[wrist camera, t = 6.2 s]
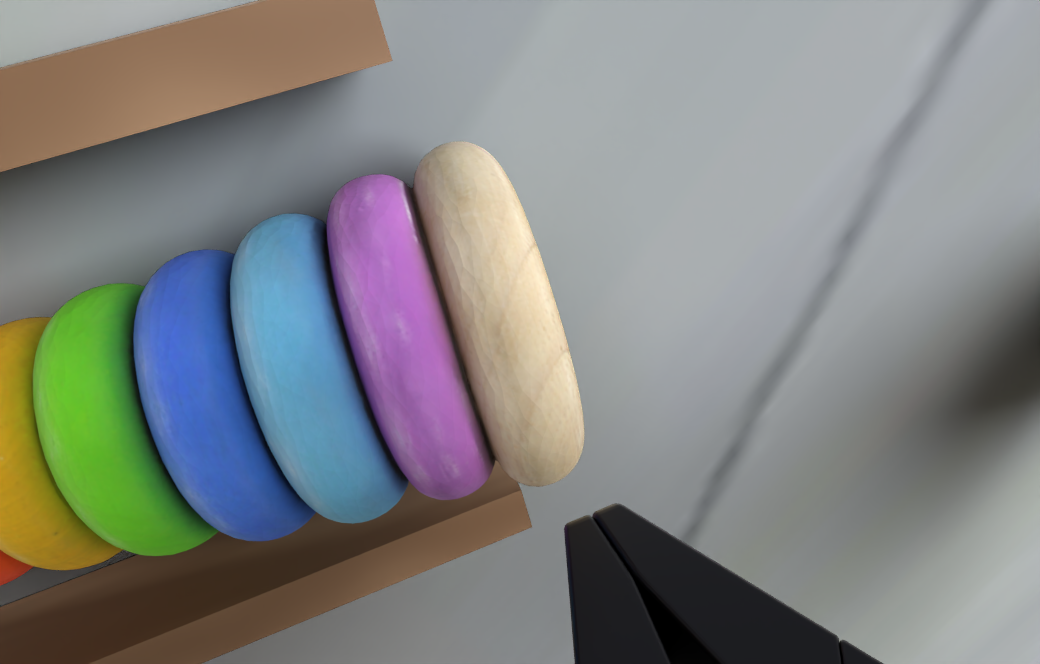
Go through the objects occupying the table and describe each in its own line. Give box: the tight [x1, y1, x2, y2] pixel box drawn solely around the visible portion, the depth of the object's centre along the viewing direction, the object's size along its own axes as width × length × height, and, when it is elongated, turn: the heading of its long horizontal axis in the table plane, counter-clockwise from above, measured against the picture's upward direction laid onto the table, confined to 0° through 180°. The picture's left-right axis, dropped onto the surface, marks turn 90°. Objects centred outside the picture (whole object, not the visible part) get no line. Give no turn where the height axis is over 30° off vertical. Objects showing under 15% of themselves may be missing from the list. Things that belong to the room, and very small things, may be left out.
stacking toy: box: [0, 142, 584, 586], centre depth 15 cm, size 8×8×19 cm
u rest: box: [0, 0, 532, 664], centre depth 16 cm, size 14×20×4 cm
